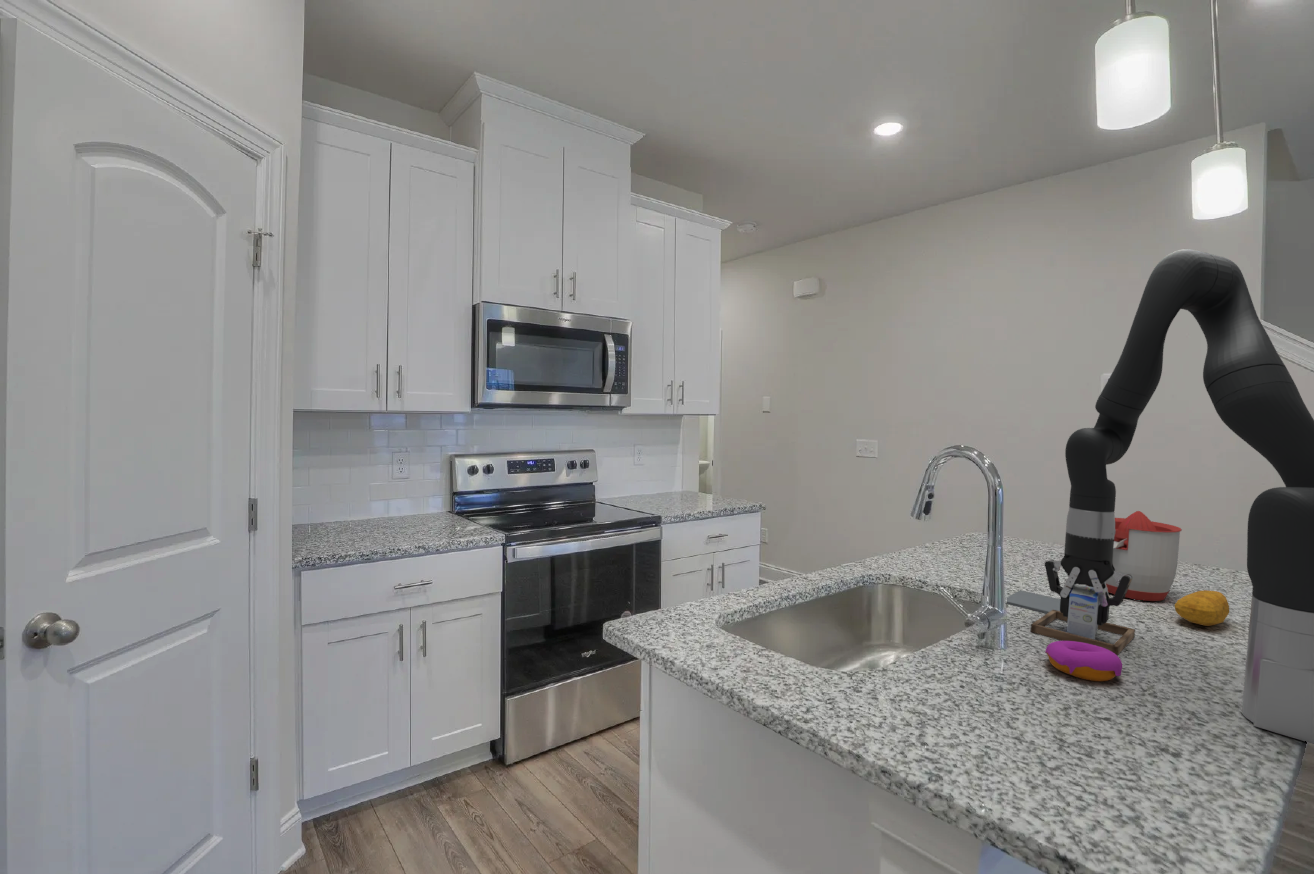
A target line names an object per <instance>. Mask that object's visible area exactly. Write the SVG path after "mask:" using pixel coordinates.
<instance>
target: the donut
mask: <svg viewBox="0 0 1314 874" xmlns="http://www.w3.org/2000/svg"><path fill="white" fill-rule="evenodd" d="M1044 653H1045V654H1046V656H1047V657H1048V660H1049V662H1050V664H1051V665H1052V666H1053V667H1054V668H1055V669H1056V670H1058V671H1061V672H1062V673H1065V674H1066V675H1070V676H1073V677H1076V678H1078V679H1082V680H1086V681H1091V682H1107V681H1111V680H1112V679H1114V678H1115V677H1119V676H1121V675H1122V671H1123V661H1122V660H1121V658H1120V657H1119V656H1118V655H1116V654H1115V653H1113V652H1111V651H1110V650H1108V649H1105V648H1103V647H1099V646H1096V645H1092V644H1087V643H1082V642H1075V641H1062V640H1057V641H1052V642H1050V643H1049V644H1047V646H1046V648H1045V652H1044Z"/></svg>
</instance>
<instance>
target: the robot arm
mask: <svg viewBox="0 0 1314 874" xmlns="http://www.w3.org/2000/svg"><path fill="white" fill-rule="evenodd" d="M1180 310H1185V311H1188V312H1189V313H1190V314H1191V315H1192V316H1193V318H1194V319H1195V321H1196V322H1197V324H1198V326H1199V327H1200V330H1201V331H1202V334H1203V335H1204V337H1205V340H1206V347H1207V349H1206V355H1205V358H1204V363H1203V368H1202V369H1203V370H1202V380H1203V384H1204V388H1205V390H1206V392H1207V394H1208V395H1209V398H1210V400H1211V403H1212V405H1213V408H1214V410H1215V412H1216V413H1217V416H1218V417H1219V418H1220V420H1221V421H1222V423H1224V425H1226V426H1227V427H1228V429H1230V431H1232V432H1233V433H1234V434H1235V435H1237V437H1239V438H1240V439H1242V441H1244V442H1245V443H1247V445H1249V446H1250V448H1252V449H1254V450H1255V451H1256V452H1257V453H1259V454H1260V455H1261V456H1262V457H1263V458H1264V459H1266V461H1267V462H1269V463H1270V465H1271V466H1272V467H1273V468H1274V469H1275V471H1276V473H1277V474H1278V476H1279V477H1280V478H1281V481H1282V482H1283V483H1284V485H1285V486H1279V487H1272V488H1271V487H1270V488H1269V489H1266V490H1264V491H1261V493H1259V494H1258V496H1257V497H1255V499H1254V501H1253V502H1252V504H1251V506H1250V508H1249V512H1248V519H1247V529H1246V530H1247V534H1246V539H1247V541H1246V542H1247V545H1246V546H1247V547H1246V549H1247V550H1246V556H1247V557H1246V567H1247V568H1246V569H1247V575H1248V577H1249V579H1250V582H1251V586H1252V591H1251V595H1252V596H1251V603H1250V615H1249V624H1248V634H1247V635H1248V636H1247V647H1246V656H1245V657H1246V658H1245V667H1244V668H1245V669H1244V678H1243V679H1244V680H1243V690H1242V691H1243V692H1242V703H1241V704H1242V705H1241V713H1242V715H1243V717H1245V718H1246V719H1247V720H1249V721H1250V722H1252V723H1253V726H1254V727H1256V728H1260V729H1263V730H1267V731H1270V732H1273V733H1276V734H1279V735H1283V736H1286V737H1289V738H1293V739H1296V740H1299V741H1303V742H1305V741H1306V743H1308V744H1312V745H1314V417H1313V416H1312V414H1311V412H1310V410H1309V409H1308V407H1307V406H1306V404H1305V402H1304V400H1303V398H1302V396H1301V394H1300V391H1299V389H1298V387H1297V385H1296V383H1295V381H1294V379H1293V378H1292V376H1291V373H1290V372H1289V370H1288V369H1287V366H1286V365H1285V363H1284V362H1283V360H1282V359H1281V357H1280V354H1279V353H1278V351H1277V349H1276V348H1275V346H1274V344H1273V342H1272V340H1271V338H1270V336H1269V335H1268V332H1267V331H1266V329H1265V328H1264V327H1265V326H1263V324H1262V322H1261V320H1260V319H1259V316H1258V313H1257V311H1256V309H1255V305H1254V303H1253V300H1252V296H1251V294H1250V292H1249V289H1248V285H1247V282H1246V280H1245V277H1244V274H1243V272H1242V270H1241V269H1240V267H1239V266H1238V264H1237V263H1235V262H1233V260H1231V259H1228V258H1227V257H1224V256H1220V255H1217V254H1212V253H1208V252H1204V251H1199V250H1196V249H1187V248H1184V249H1179V250H1175V251H1174V252H1170V253H1169V254H1167V255H1165V256H1164V257H1163V258H1162V259H1161V260H1160V261H1159V262H1158V263H1157V264H1156V265H1155V266H1154V268H1153V270H1152V272H1151V273H1150V275H1149V277H1148V280H1147V282H1146V284H1145V287H1144V290H1143V292H1142V296H1141V298H1140V301H1139V304H1138V307H1137V310H1136V313H1135V315H1134V318H1133V321H1132V323H1131V327H1130V330H1129V333H1128V335H1127V338H1126V342H1125V344H1124V346H1123V349H1122V352H1121V354H1120V357H1119V359H1118V361H1117V363H1116V364H1115V367H1114V368H1113V370H1112V373H1111V374H1110V376H1109V378H1108V379H1107V381H1106V383H1105V385H1104V386H1103V389H1102V391H1101V392H1100V394H1099V395H1098V398H1097V399H1096V402H1095V406H1094V407H1095V410H1096V412H1097V413H1098V417H1097V419H1096V422H1095V425H1094V427H1082V428H1080V429H1077V430H1075V431H1074V432H1072V434H1070V436H1069V438H1068V439H1067V442H1066V443H1065V444H1066V445H1065V450H1064V451H1065V452H1064V456H1065V462H1066V468H1067V473H1068V479H1069V482H1070V491H1069V492H1070V493H1069V502H1068V503H1069V504H1068V505H1069V506H1068V512H1067V515H1066V523H1065V524H1066V525H1065V526H1066V527H1065V540H1064V541H1065V542H1064V552H1063V553H1064V554H1063V558H1062V559H1060V560H1054V559H1048V560H1047V561H1045V562H1044V567H1045V571H1046V572H1045V573H1046V577H1047V581H1048V582H1047V583H1048V587H1049V590H1050V592H1051V593H1052V592H1053V593H1055V594H1057V595H1059V597H1060V599H1061V600H1060V612H1061V613H1063V616H1064V617H1068V610H1069V597H1070V593H1071V591H1072V588H1073V587H1075V586H1076V584H1077V585H1083V586H1089V587H1093V588H1094V590H1095V593H1096V594H1097V595H1098V599H1099V602H1100V605H1099V606H1098V615H1097V625H1101V626H1102V625H1103V624H1104V623H1108V621H1109V618H1110V607H1112V606H1115V607H1119V606H1120V605H1121V604H1122V603H1124V599H1125V598H1126V597H1125V595H1126V593H1127V590H1128V588H1129V585H1130V583H1131V581H1132V576H1131V575H1130V574H1123V573H1120V572H1118V571H1115V568H1114V566H1113V548H1114V536H1115V518H1116V516H1115V509H1116V496H1117V495H1116V494H1117V489H1116V484H1115V483H1114V482H1113V481H1112V480H1110V479H1108V475H1107V474H1108V473H1107V465H1112V464H1114V463H1117V462H1118V461H1119V460H1121V459H1122V458H1123V457H1124V456H1125V454H1126V453H1127V452H1128V450H1129V448H1130V446H1131V444H1132V441H1133V438H1134V436H1135V432H1136V429H1137V427H1138V422H1139V418H1140V417H1141V416H1142V414H1143V412H1144V411H1145V409H1146V407H1147V405H1148V404H1149V402H1150V400H1151V399H1152V397H1153V395H1154V393H1155V392H1156V390H1157V387H1158V386H1159V383H1160V381H1161V378H1162V374H1163V365H1164V364H1163V363H1164V362H1163V361H1164V348H1165V343H1166V342H1165V341H1166V337H1167V333H1168V331H1169V328H1170V327H1171V325H1172V323H1173V321H1174V319H1175V317H1176V316H1177V315H1178V313H1179V312H1180ZM1061 567H1062V569H1063V570H1064V572H1065V573H1066V575H1067V576H1068V577H1067V579H1066V580H1065V583H1064V586H1061V583H1060V577H1059V573H1058V572H1060V570H1061ZM1112 576H1114V577H1115V582H1116V583H1117V584H1118V588H1117V590H1116V592H1115V594H1113V597H1111V596H1110V595H1109V592H1108V589H1107V586H1106V583H1105V582H1106V581H1107V580H1108V579H1109V578H1110V577H1112Z"/></svg>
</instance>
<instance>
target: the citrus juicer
mask: <svg viewBox="0 0 1314 874" xmlns="http://www.w3.org/2000/svg"><path fill="white" fill-rule="evenodd" d="M1182 530H1183V529H1182V528H1181V527H1179V526H1176V525H1172V524H1168V523H1164V522H1163V523H1162V522H1158V521H1151V520H1150V518H1149V517H1148V516H1147V515H1146V514H1145V513H1144V512H1142V511H1139V510H1136V511H1135V512H1133V513H1131V514H1129V515H1128V516H1127V517H1115V536H1114V548H1113V566H1114V568H1115V571H1118V572H1120V573H1123V574H1130V575H1131V576H1132V581H1131V583H1130V585H1129V588H1128V590H1127V593H1126V595H1125V597H1124V598H1126V599H1128V598H1129V599H1131V600H1132V599H1135V600H1134V601H1136V600H1143V601H1150V602H1161V601H1163V600H1165V599H1166V597H1168V595H1169V593H1170V591H1171V588H1172V586H1173V584H1174V580H1175V578H1176V574H1177V568H1178V561H1179V560H1178V559H1179V549H1180V548H1179V547H1180V537H1181V532H1182ZM1105 583H1106V586H1107V589H1108V594H1109V593H1110V594H1112V595H1115V592H1116V590H1117V588H1118V584H1117V583H1116V582H1115V577H1114V576H1112V577H1110V578H1109V579H1108V580H1107V581H1106V582H1105Z"/></svg>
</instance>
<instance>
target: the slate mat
mask: <svg viewBox="0 0 1314 874" xmlns="http://www.w3.org/2000/svg"><path fill="white" fill-rule="evenodd" d="M1006 598H1007V605H1010V606H1013V607H1018V608H1019V607H1020V608H1023V609H1026V610H1030V611H1035V612H1039V613H1043V614H1045V615H1046V614H1047V613H1049V612H1050V611H1052V610H1057V611H1060V600H1061V598H1056V597H1052V596H1048V595H1043V594H1041V593H1040V594H1038V593H1035V592H1031V591H1026V590H1022V589H1020V590H1018V591H1016V592H1014V593H1012V594H1010V595H1009V596H1007V597H1006Z"/></svg>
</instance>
